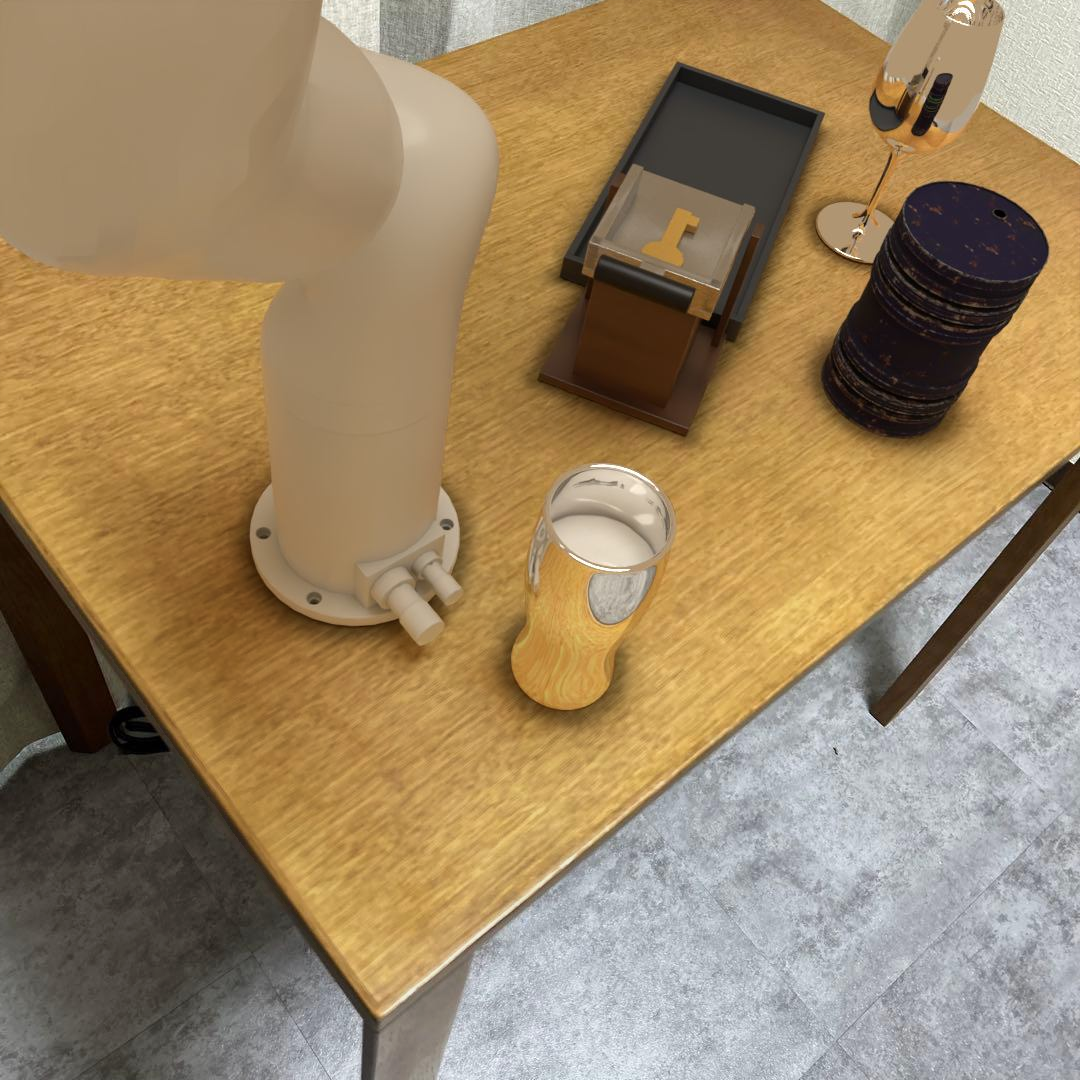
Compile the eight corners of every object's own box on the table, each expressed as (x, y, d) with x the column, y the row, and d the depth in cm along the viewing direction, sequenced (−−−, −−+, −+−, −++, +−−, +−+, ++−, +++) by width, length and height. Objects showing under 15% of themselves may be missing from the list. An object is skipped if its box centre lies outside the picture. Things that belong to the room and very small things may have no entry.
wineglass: (899, 212, 95) (1012, -14, 79) (908, 273, 91) (1030, 46, 75) (811, 196, 95) (907, -35, 79) (815, 256, 90) (918, 24, 74)
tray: (734, 342, 83) (742, 322, 82) (559, 277, 85) (563, 256, 83) (817, 132, 101) (825, 112, 99) (671, 80, 102) (676, 60, 100)
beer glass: (609, 731, 63) (671, 591, 51) (491, 701, 63) (525, 554, 51) (628, 629, 67) (689, 477, 55) (516, 601, 67) (554, 443, 55)
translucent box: (695, 351, 68) (712, 307, 65) (565, 303, 68) (575, 256, 65) (753, 217, 76) (769, 171, 73) (636, 174, 77) (647, 128, 74)
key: (674, 283, 70) (676, 276, 69) (633, 268, 70) (635, 261, 70) (702, 224, 74) (704, 216, 73) (663, 209, 74) (665, 202, 74)
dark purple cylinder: (896, 461, 79) (996, 305, 66) (793, 376, 82) (870, 213, 70) (973, 400, 83) (1079, 244, 71) (872, 322, 87) (957, 161, 75)
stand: (686, 437, 77) (730, 321, 68) (537, 380, 78) (562, 259, 69) (724, 341, 83) (770, 224, 74) (586, 289, 84) (614, 168, 75)
